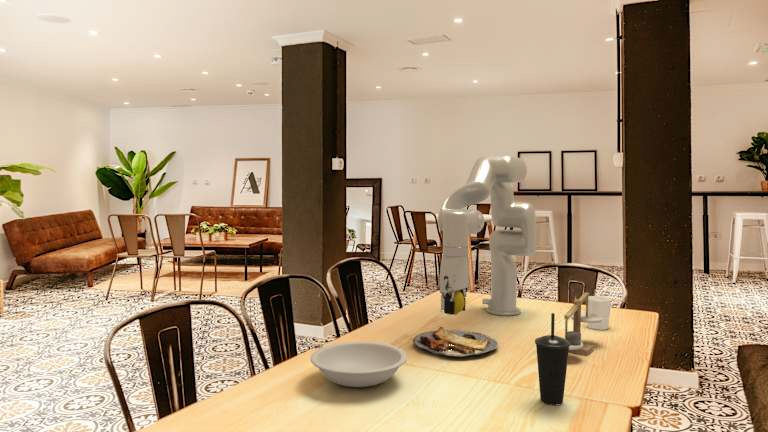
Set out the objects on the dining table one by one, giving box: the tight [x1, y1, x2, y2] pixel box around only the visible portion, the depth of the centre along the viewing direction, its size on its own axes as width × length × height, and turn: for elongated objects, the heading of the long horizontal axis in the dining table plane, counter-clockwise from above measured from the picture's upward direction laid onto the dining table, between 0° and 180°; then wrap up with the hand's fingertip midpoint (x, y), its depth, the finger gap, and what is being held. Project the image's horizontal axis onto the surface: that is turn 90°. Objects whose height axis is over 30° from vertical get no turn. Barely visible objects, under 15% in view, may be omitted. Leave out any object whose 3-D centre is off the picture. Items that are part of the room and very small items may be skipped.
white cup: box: [586, 295, 612, 331], centre depth 180 cm, size 8×8×10 cm
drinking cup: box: [534, 312, 571, 406], centre depth 119 cm, size 8×8×20 cm
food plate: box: [412, 326, 499, 358], centre depth 159 cm, size 25×23×4 cm
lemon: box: [449, 291, 466, 316], centre depth 159 cm, size 6×6×8 cm
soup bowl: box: [310, 340, 408, 388], centre depth 131 cm, size 24×24×7 cm
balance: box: [563, 291, 603, 356], centre depth 155 cm, size 9×27×16 cm, turn 141°
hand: (454, 311), depth 159 cm, fingers closed on lemon, 5 cm apart
